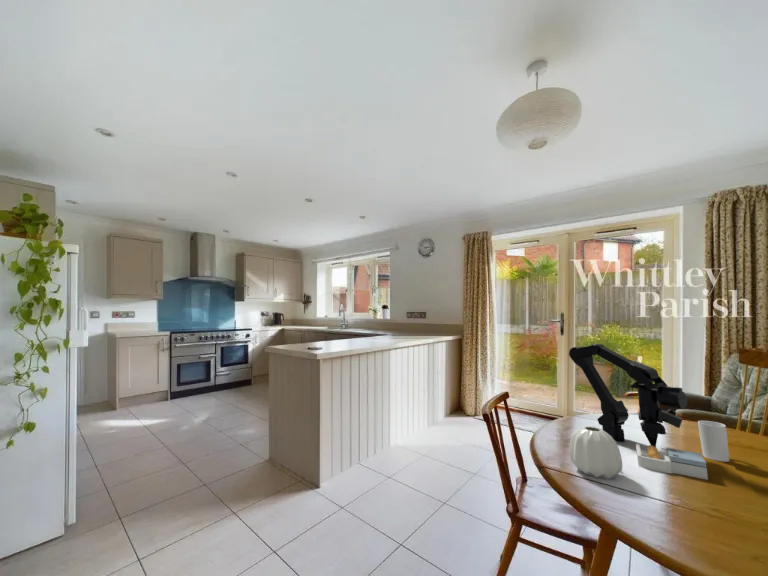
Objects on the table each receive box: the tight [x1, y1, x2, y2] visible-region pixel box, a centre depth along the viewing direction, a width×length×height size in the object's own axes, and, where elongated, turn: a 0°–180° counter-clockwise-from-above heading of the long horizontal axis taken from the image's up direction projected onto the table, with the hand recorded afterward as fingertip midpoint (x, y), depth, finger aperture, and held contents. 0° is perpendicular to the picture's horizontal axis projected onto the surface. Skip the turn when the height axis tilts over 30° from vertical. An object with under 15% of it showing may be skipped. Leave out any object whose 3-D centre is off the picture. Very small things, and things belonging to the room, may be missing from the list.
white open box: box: [635, 443, 709, 480], centre depth 103 cm, size 16×18×4 cm
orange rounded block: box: [646, 444, 659, 459], centre depth 108 cm, size 3×8×3 cm, turn 143°
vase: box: [569, 425, 623, 479], centre depth 100 cm, size 14×14×13 cm
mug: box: [697, 420, 730, 463], centre depth 108 cm, size 10×7×12 cm, turn 127°
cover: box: [666, 447, 707, 468], centre depth 98 cm, size 8×8×2 cm
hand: (653, 446), depth 112 cm, fingers closed
